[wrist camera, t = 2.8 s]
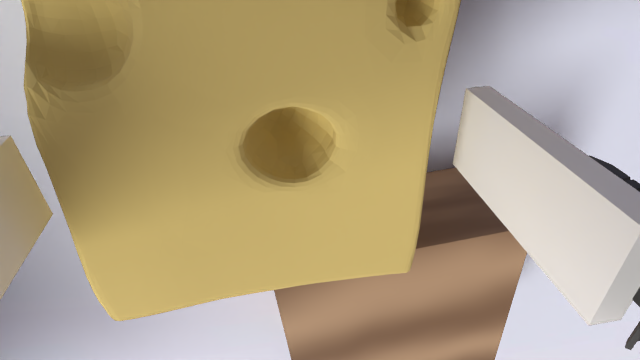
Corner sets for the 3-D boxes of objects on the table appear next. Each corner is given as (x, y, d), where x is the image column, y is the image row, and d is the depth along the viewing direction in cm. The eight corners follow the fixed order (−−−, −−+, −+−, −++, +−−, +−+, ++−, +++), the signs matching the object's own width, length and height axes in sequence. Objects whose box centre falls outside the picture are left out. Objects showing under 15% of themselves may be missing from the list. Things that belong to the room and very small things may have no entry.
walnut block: (264, 198, 23) (270, 276, 18) (476, 160, 24) (535, 226, 19) (293, 328, 31) (303, 408, 26) (453, 296, 32) (492, 367, 27)
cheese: (88, -80, 15) (-101, -53, 6) (373, -81, 16) (511, -61, 8) (155, 162, 21) (101, 332, 12) (359, 144, 22) (429, 287, 14)
